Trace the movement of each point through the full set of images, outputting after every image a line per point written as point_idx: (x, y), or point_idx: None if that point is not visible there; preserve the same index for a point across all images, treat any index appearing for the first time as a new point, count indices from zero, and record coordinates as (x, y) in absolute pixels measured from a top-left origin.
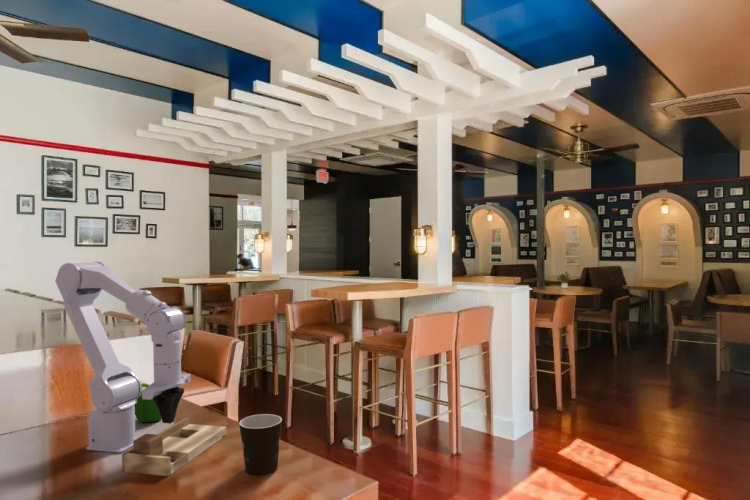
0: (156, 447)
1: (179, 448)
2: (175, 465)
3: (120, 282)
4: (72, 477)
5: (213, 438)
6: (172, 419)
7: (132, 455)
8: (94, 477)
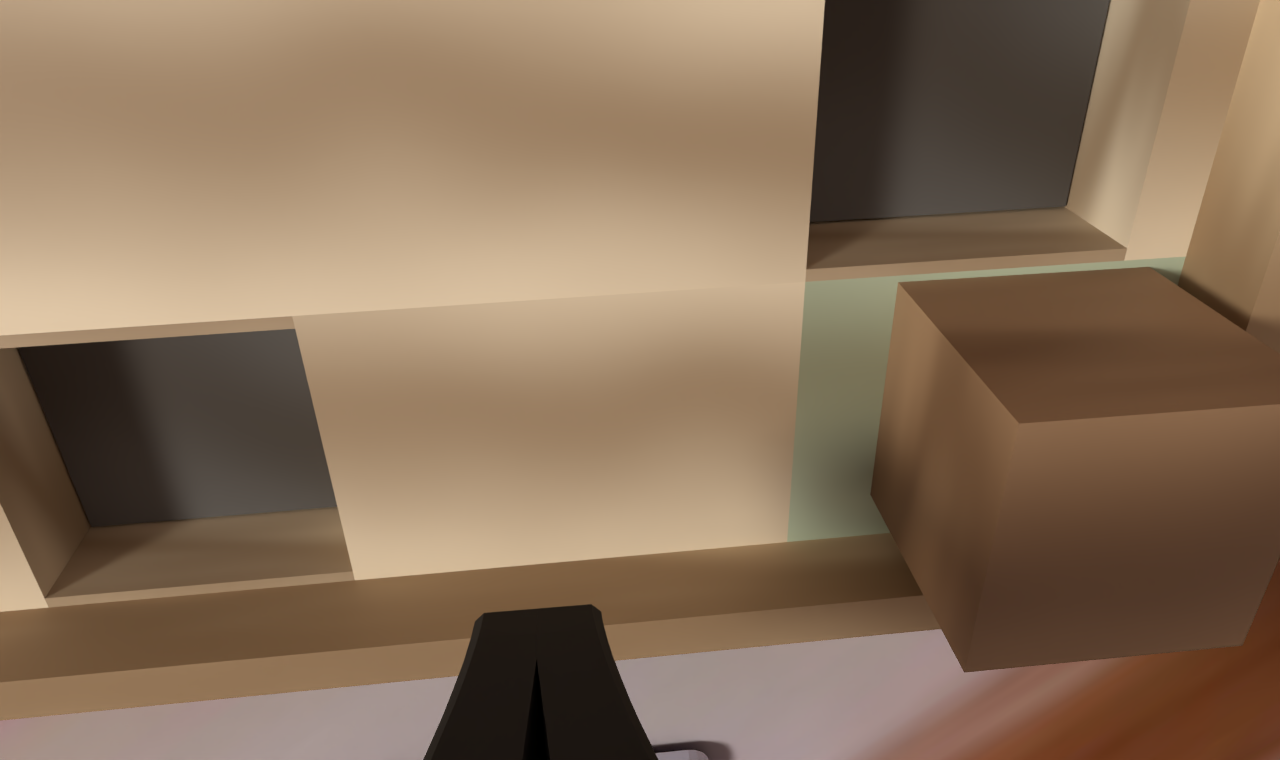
0: (1096, 338)
1: (684, 175)
2: None
3: None
4: (1177, 727)
5: None
6: (556, 641)
7: None
8: None
